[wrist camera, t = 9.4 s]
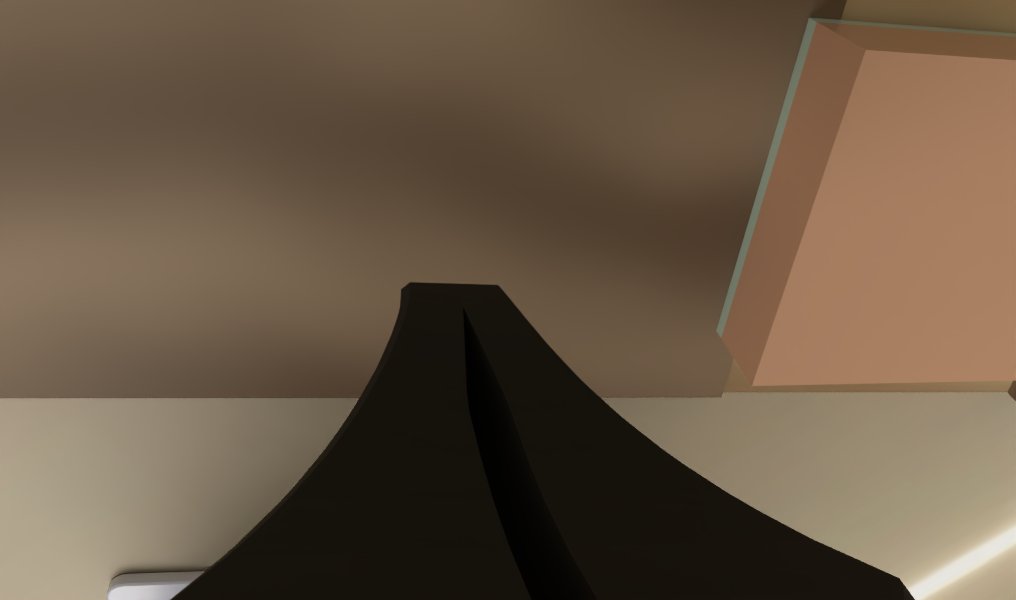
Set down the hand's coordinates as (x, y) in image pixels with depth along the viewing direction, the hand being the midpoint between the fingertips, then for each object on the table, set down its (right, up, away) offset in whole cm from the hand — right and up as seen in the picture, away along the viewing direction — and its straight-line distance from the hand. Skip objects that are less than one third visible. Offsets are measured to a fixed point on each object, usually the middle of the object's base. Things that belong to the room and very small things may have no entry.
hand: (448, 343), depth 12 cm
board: (+2, +4, +6) cm, 7 cm away
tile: (+6, +2, +5) cm, 8 cm away
